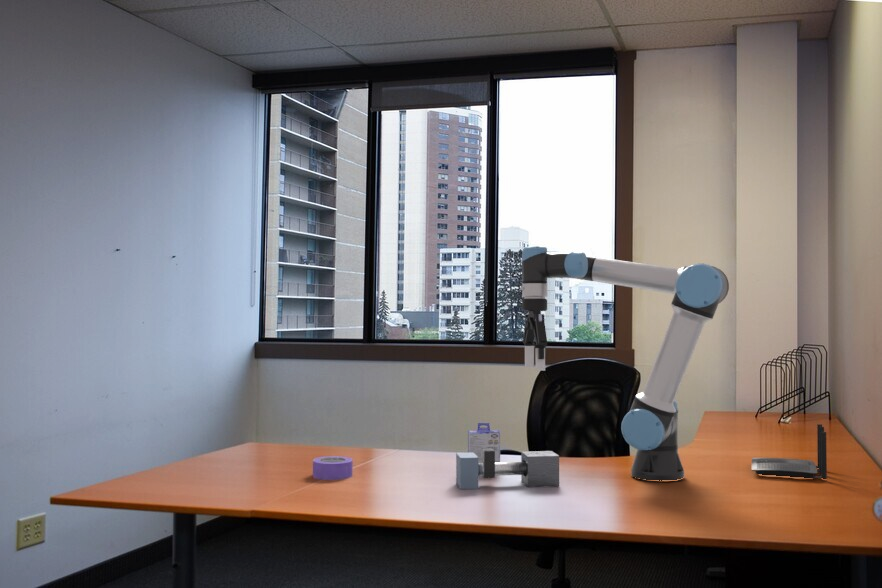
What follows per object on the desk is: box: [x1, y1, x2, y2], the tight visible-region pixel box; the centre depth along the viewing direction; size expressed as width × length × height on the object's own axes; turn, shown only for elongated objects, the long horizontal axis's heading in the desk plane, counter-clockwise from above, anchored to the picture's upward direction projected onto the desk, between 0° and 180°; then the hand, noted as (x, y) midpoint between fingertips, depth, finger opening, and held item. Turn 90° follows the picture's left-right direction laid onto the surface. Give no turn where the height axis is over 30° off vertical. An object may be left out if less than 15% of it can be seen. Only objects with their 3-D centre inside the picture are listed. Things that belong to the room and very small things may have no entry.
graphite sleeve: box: [520, 450, 560, 488], centre depth 234 cm, size 9×8×8 cm
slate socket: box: [455, 452, 479, 490], centre depth 231 cm, size 5×8×9 cm, turn 7°
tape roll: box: [312, 455, 354, 481], centre depth 245 cm, size 12×12×5 cm
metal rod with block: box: [478, 448, 526, 479], centre depth 232 cm, size 18×5×8 cm, turn 97°
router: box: [750, 423, 828, 480], centre depth 249 cm, size 21×20×15 cm
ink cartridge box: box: [467, 422, 501, 463], centre depth 252 cm, size 10×6×14 cm, turn 90°
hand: (534, 368), depth 247 cm, fingers open, 13 cm apart
